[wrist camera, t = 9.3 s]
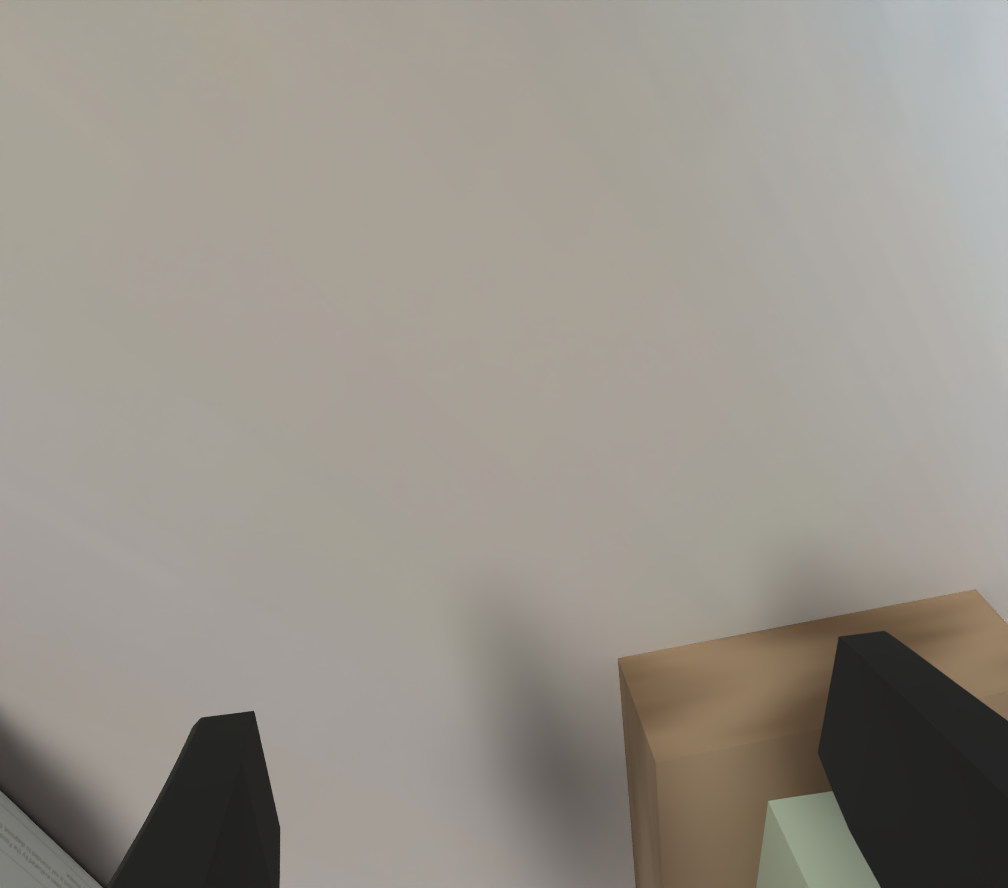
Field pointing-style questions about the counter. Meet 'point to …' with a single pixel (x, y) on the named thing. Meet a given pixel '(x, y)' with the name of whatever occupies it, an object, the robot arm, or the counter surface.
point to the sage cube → (810, 846)
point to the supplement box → (34, 855)
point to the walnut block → (764, 728)
